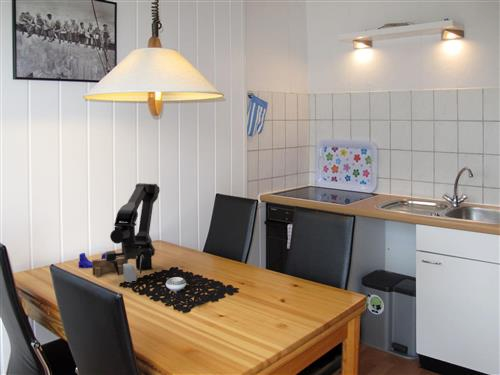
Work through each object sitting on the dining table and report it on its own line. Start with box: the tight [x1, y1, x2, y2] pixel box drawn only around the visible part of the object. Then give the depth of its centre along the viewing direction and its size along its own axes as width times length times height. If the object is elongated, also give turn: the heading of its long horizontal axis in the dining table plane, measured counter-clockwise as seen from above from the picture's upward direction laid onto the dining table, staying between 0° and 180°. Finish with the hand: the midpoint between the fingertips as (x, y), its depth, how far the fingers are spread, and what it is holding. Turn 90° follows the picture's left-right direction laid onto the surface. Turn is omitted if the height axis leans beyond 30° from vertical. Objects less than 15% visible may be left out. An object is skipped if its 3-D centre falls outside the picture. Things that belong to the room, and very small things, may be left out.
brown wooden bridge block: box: [91, 257, 129, 278], centre depth 225 cm, size 15×6×6 cm, turn 109°
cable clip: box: [78, 252, 106, 269], centre depth 236 cm, size 12×4×6 cm, turn 86°
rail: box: [122, 262, 137, 283], centre depth 218 cm, size 4×12×5 cm, turn 19°
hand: (129, 274), depth 218 cm, fingers open, 9 cm apart
